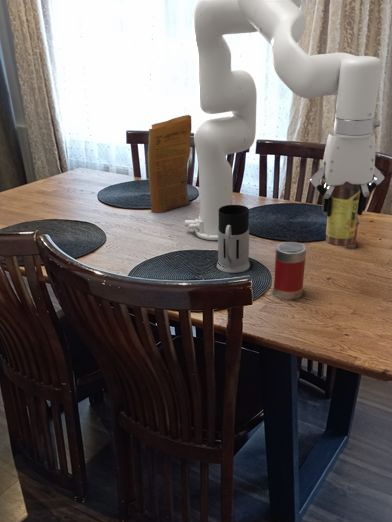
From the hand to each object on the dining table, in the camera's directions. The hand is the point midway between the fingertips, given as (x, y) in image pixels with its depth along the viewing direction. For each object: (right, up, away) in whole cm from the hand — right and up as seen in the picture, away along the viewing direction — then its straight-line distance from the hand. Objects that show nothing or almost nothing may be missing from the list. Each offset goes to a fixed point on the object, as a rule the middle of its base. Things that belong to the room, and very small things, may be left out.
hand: (342, 213), depth 116 cm
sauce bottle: (0, -6, +4) cm, 7 cm away
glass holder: (-23, -10, +21) cm, 32 cm away
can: (-10, -17, +9) cm, 22 cm away
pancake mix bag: (-40, +18, +63) cm, 77 cm away
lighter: (+10, 0, +33) cm, 34 cm away
